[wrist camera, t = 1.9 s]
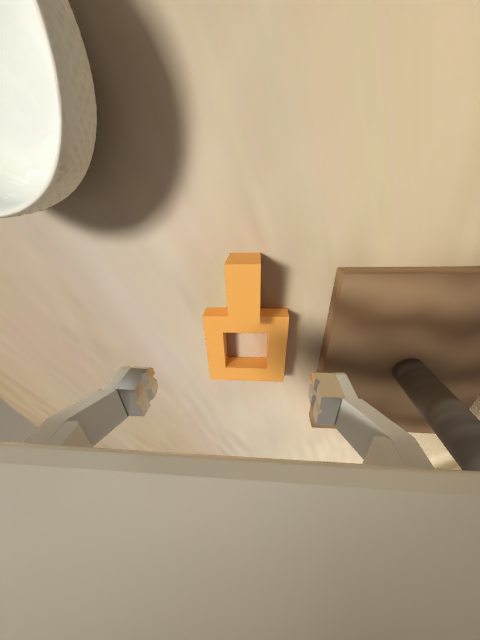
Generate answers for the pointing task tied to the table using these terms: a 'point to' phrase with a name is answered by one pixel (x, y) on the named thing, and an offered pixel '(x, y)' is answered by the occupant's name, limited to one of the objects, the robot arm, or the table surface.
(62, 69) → the cereal bowl
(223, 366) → the loop fitting
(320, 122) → the table surface
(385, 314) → the keeper board
